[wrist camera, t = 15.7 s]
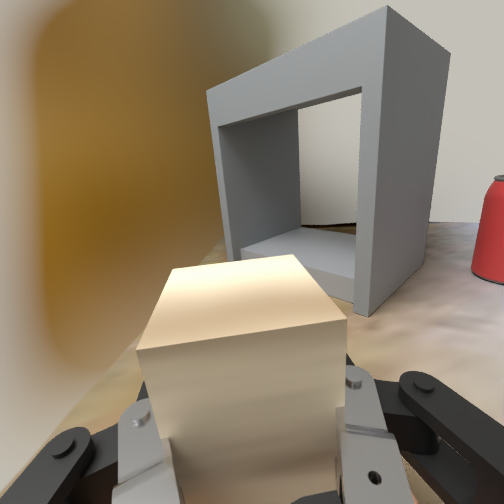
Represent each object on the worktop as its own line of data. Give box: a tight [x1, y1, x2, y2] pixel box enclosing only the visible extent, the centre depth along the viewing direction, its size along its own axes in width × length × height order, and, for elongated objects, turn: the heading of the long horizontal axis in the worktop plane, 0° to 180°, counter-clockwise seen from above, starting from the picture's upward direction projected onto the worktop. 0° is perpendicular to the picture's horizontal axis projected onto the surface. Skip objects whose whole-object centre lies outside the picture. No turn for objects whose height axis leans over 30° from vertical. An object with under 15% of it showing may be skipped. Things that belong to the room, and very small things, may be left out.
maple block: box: [136, 254, 347, 504], centre depth 10 cm, size 5×5×10 cm
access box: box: [206, 5, 451, 317], centre depth 36 cm, size 18×23×26 cm
